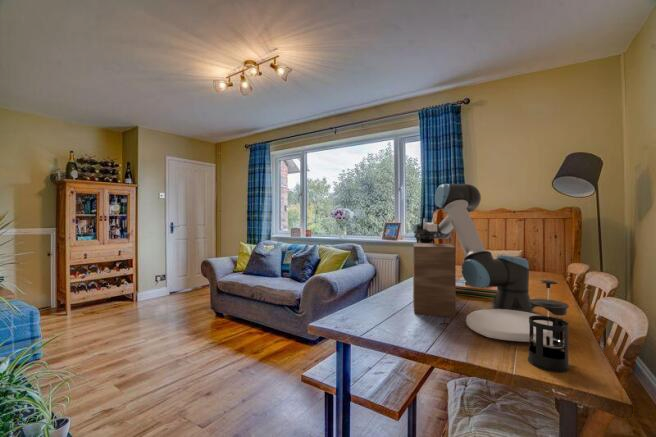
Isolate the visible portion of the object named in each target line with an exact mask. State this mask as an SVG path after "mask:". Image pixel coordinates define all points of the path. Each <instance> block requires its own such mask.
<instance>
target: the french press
mask: <svg viewBox="0 0 656 437" xmlns="http://www.w3.org/2000/svg"><path fill="white" fill-rule="evenodd" d="M538 281H539V283H542V284H545V286H546V289H547V299H546V298H530V300H529V303H531V309H533V310H534V308H537V307H538V308H539V307H540V308H544V309H545V310H546V311H547V315H541V316H530V317H529V324H530V334H529V342H528V343H529V345H528V346H529V347H528V357H527V361H528V363H529V364H530V365H532V366H534V367H536V368H538V369H540V370H543V371H546V372H552V373H567V372H569V370H570V368H571V367H570V365H569V364H570V363H569V360H570V359H569V330H570V329H569V328H570V325H569V322H567V321H566V320H564V319H563V318H561V317H559V316H564V315H565V316H566V315H567V313H568V312H567V309H568V308H570V305H569V304H567V303H565V302H562V301H559V300H554V299H550V289H551V285H558V281H554V280H551V279H550V280H549V279H542V280H538ZM550 314H553V315H554V317H553V316H550ZM555 316H556V317H555ZM534 320H544V321H547V325H544V324H540V323H537V322H534ZM549 321H551V322H553V326H550V325H549ZM533 326H534V327H536V335H533ZM543 329H544V330H547V336H544V335H543ZM549 331H553V337H550V336H549Z"/></svg>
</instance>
